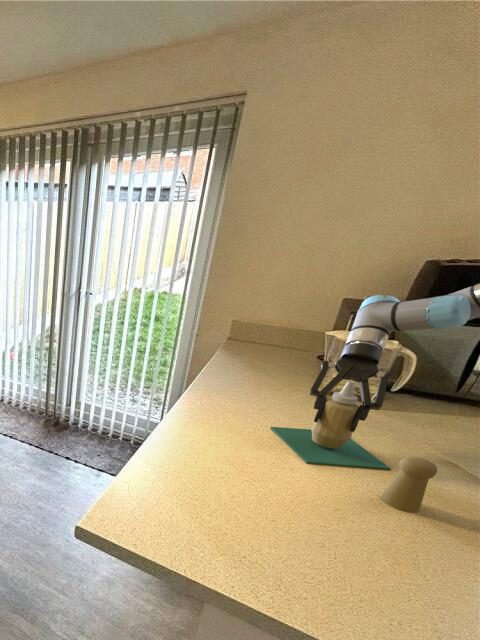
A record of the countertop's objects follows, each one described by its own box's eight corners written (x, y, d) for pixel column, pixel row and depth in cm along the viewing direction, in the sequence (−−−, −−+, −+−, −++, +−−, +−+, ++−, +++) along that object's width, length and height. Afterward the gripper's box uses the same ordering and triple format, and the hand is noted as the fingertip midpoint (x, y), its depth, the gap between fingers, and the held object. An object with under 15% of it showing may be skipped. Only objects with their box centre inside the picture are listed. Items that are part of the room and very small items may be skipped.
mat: (390, 470, 96) (391, 468, 95) (306, 463, 99) (307, 461, 98) (340, 433, 112) (341, 431, 111) (270, 428, 115) (270, 426, 115)
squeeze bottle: (343, 440, 106) (369, 379, 99) (348, 455, 100) (376, 391, 92) (305, 432, 110) (327, 373, 103) (308, 445, 104) (332, 384, 97)
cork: (372, 494, 88) (392, 453, 83) (397, 492, 88) (418, 451, 84) (401, 513, 82) (424, 470, 78) (428, 511, 82) (452, 468, 78)
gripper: (411, 364, 100) (383, 444, 96) (314, 348, 113) (286, 417, 109) (421, 350, 94) (391, 433, 90) (318, 334, 107) (288, 407, 103)
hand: (334, 424), depth 100 cm, fingers closed on squeeze bottle, 6 cm apart
